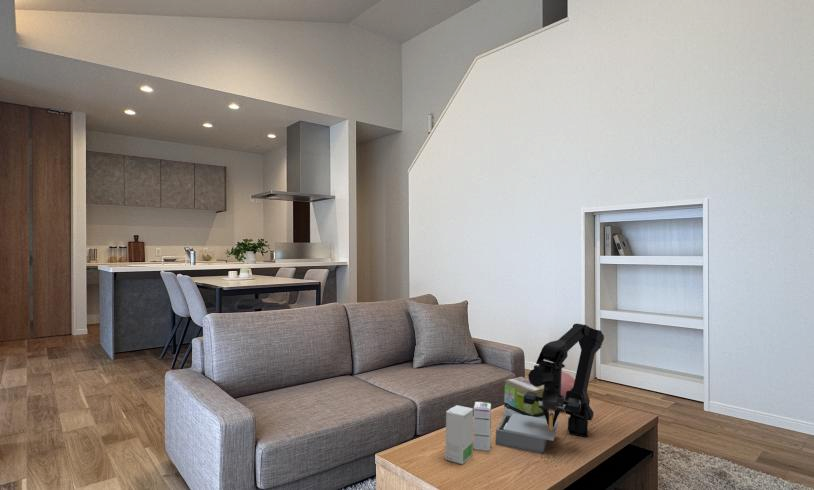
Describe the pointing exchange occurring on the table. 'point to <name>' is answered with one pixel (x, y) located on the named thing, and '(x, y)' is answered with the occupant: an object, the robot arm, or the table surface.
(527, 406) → the tea box
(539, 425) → the lid
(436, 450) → the table surface
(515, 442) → the grey flat block
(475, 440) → the syrup box
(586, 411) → the robot arm
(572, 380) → the balloon
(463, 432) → the skincare box
